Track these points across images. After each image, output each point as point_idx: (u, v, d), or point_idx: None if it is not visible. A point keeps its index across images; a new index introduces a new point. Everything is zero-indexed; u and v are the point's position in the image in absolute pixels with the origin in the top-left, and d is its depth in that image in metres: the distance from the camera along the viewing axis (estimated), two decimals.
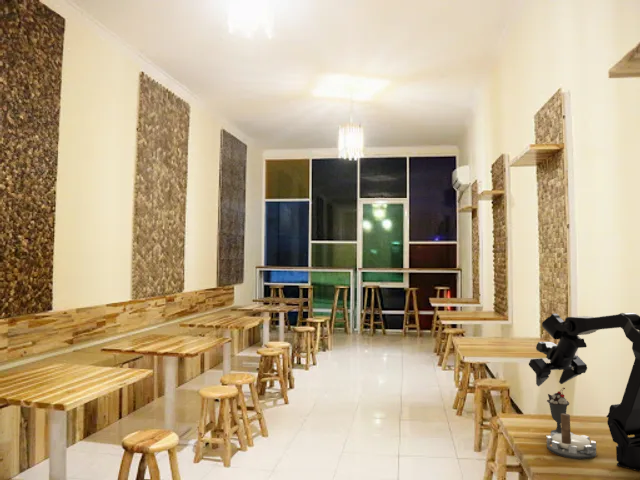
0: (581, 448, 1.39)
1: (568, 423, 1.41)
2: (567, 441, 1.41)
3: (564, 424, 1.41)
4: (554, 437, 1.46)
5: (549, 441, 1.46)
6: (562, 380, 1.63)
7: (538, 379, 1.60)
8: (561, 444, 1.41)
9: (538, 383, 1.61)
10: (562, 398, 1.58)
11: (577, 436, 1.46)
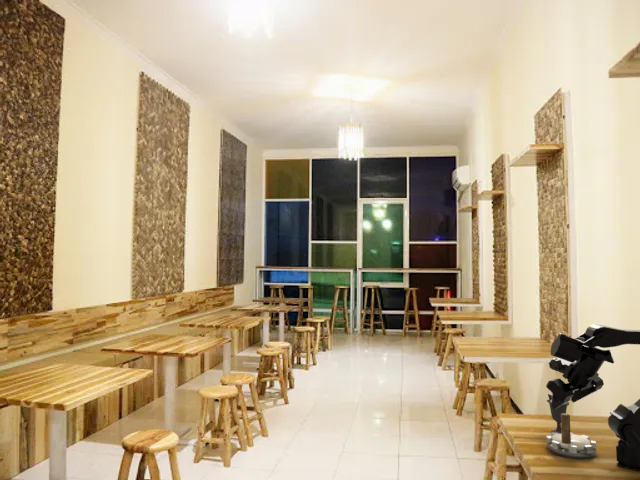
0: (581, 448, 1.39)
1: (568, 423, 1.41)
2: (567, 441, 1.41)
3: (564, 424, 1.41)
4: (554, 437, 1.46)
5: (549, 441, 1.46)
6: (575, 398, 1.45)
7: (555, 402, 1.40)
8: (561, 444, 1.41)
9: (555, 406, 1.41)
10: None
11: (577, 436, 1.46)
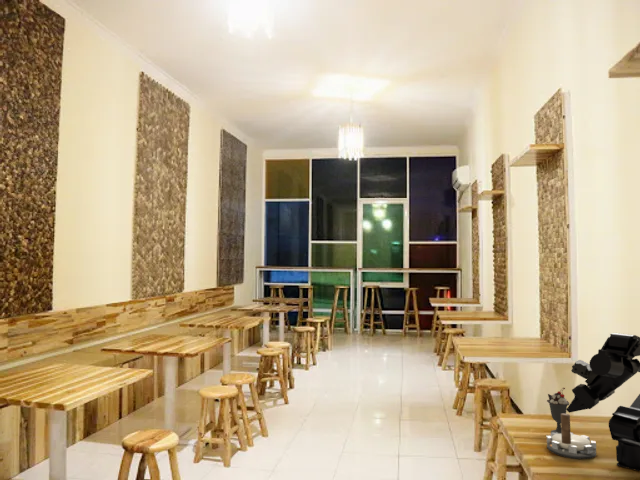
0: (581, 448, 1.39)
1: (568, 423, 1.41)
2: (567, 441, 1.41)
3: (564, 424, 1.41)
4: (554, 437, 1.46)
5: (549, 441, 1.46)
6: None
7: (574, 406, 1.36)
8: (561, 444, 1.41)
9: (572, 410, 1.37)
10: (562, 398, 1.58)
11: (577, 436, 1.46)
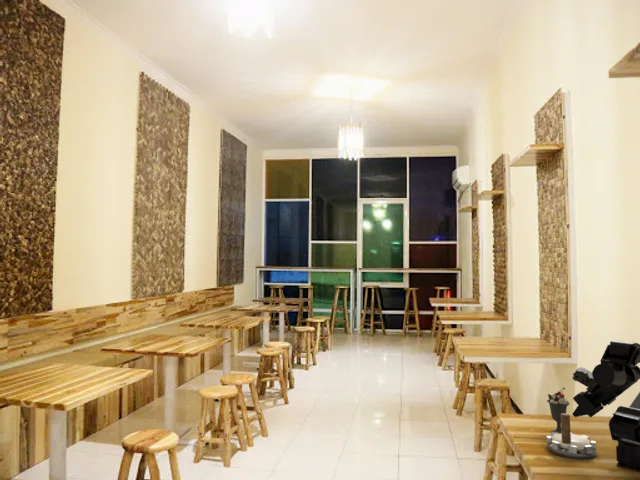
0: (581, 448, 1.39)
1: (568, 423, 1.41)
2: (567, 441, 1.41)
3: (564, 424, 1.41)
4: (554, 437, 1.46)
5: (549, 441, 1.46)
6: None
7: (580, 411, 1.38)
8: (561, 444, 1.41)
9: (578, 414, 1.39)
10: (562, 398, 1.58)
11: (577, 436, 1.46)
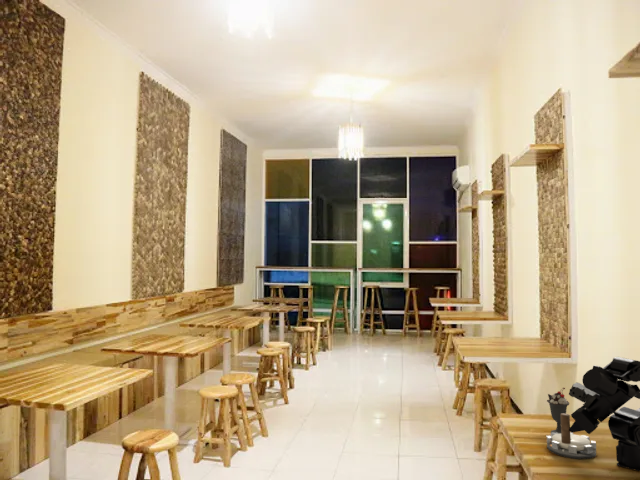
0: (581, 448, 1.39)
1: (567, 423, 1.41)
2: (567, 441, 1.41)
3: (564, 424, 1.41)
4: (554, 437, 1.46)
5: (549, 441, 1.46)
6: None
7: (577, 426, 1.38)
8: (561, 444, 1.41)
9: (574, 430, 1.39)
10: (562, 398, 1.58)
11: (577, 436, 1.46)
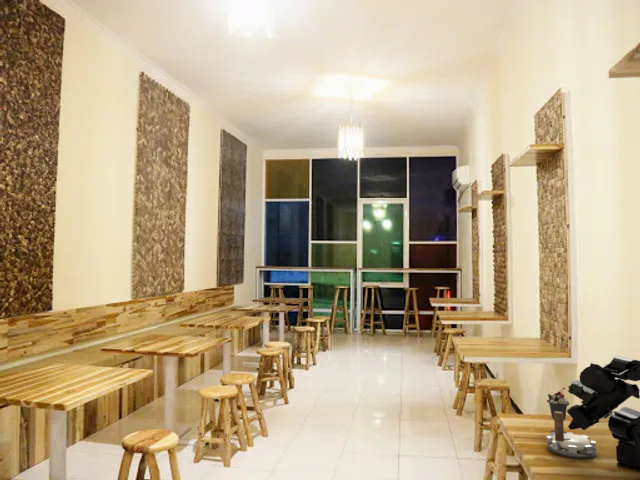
0: None
1: (558, 421, 1.43)
2: (557, 438, 1.43)
3: (555, 421, 1.44)
4: None
5: (549, 441, 1.46)
6: None
7: (576, 424, 1.39)
8: (553, 440, 1.44)
9: (573, 427, 1.40)
10: (562, 398, 1.58)
11: (583, 439, 1.44)
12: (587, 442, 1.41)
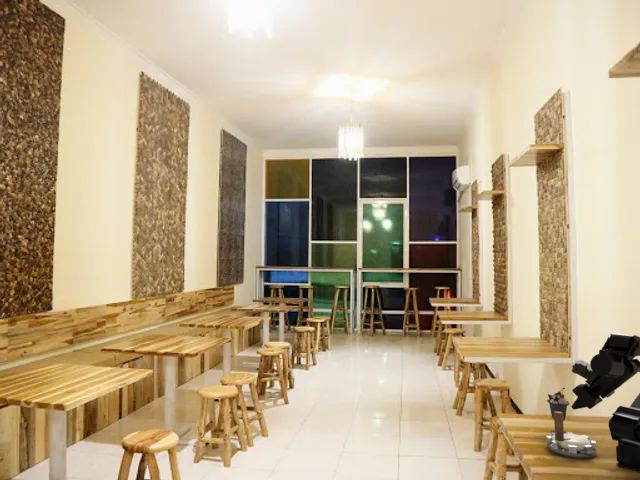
0: None
1: (558, 421, 1.43)
2: (557, 438, 1.43)
3: (555, 421, 1.44)
4: None
5: (549, 441, 1.46)
6: None
7: (579, 403, 1.38)
8: (553, 440, 1.44)
9: (576, 407, 1.39)
10: (562, 398, 1.58)
11: (583, 439, 1.44)
12: (587, 442, 1.41)
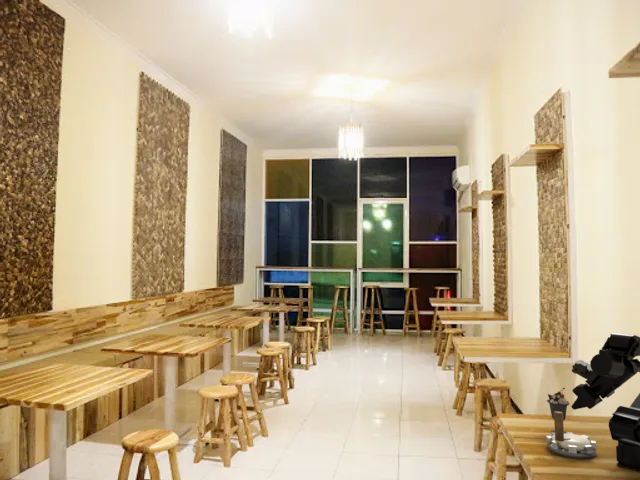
0: None
1: (558, 421, 1.43)
2: (557, 438, 1.43)
3: (555, 421, 1.44)
4: None
5: (549, 441, 1.46)
6: None
7: (579, 403, 1.38)
8: (553, 440, 1.44)
9: (576, 407, 1.39)
10: (562, 398, 1.58)
11: (583, 439, 1.44)
12: (587, 442, 1.41)
